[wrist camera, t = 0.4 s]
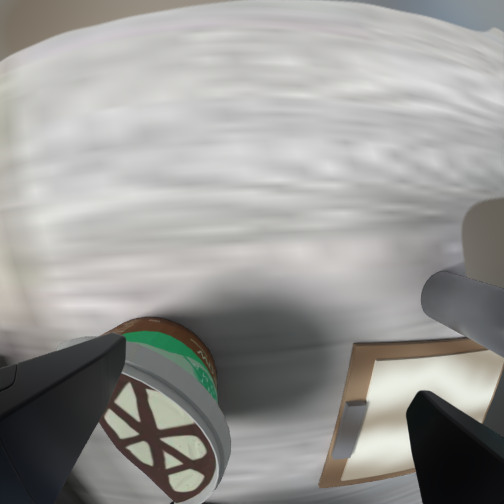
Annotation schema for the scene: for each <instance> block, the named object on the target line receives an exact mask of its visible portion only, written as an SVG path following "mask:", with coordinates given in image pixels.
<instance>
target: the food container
mask: <svg viewBox="0 0 504 504" xmlns="http://www.w3.org/2000/svg"><path fill="white" fill-rule="evenodd" d="M112 332H114V333H117V334H120V335H123V336H125V338H126V360H125V365H124V368H123V370H122V373H121V375H120V377H119V380H118V382H117V384H116V387H115V389H114V391H113V394H112V396H111V399H110V401H109V403H108V405H107V408H106V409H105V411H104V413H103V415H102V417H101V418H100V420H99V423H100V425H101V426H102V428H103V429H104V431H105V432H106V434H107V435H108V437H109V438H110V439H111V441H112V442H113V444H114V445H115V446H116V448H117V449H118V450H119V451H120V452H121V453H122V454H123V455H124V456H125V457H126V458H127V459H128V460H130V461H131V462H132V463H133V464H134V465H135V466H137V467H138V468H139V469H140V470H141V471H143V472H144V473H145V474H146V475H147V476H148V477H149V478H150V479H151V480H152V481H153V482H154V483H155V484H156V485H157V486H158V487H159V488H160V489H162V490H163V491H164V492H165V493H166V494H167V495H168V496H169V497H170V498H171V499H172V500H173V501H174V504H201V503H203V502H204V501H205V500H206V499H207V498H208V497H209V496H210V495H211V494H212V492H213V491H214V490H215V489H216V488H217V486H218V484H219V483H220V481H221V479H222V477H223V474H224V472H225V469H226V466H227V463H228V460H229V457H230V453H231V437H230V431H229V427H228V424H227V422H226V419H225V417H224V414H223V413H222V411H221V409H220V407H219V406H218V397H217V371H216V367H215V364H214V360H213V357H212V355H211V353H210V351H209V350H208V348H207V347H206V345H205V344H204V343H203V342H202V341H201V340H200V339H199V338H198V336H197V335H195V334H194V333H193V332H191V331H190V330H189V329H187V328H185V327H184V326H182V325H180V324H178V323H175V322H173V321H170V320H166V319H162V318H154V317H144V318H137V319H132V320H129V321H127V322H125V323H122V324H120V325H119V326H117V327H115V328H113V329H112V330H110V331H108V332H106V333H104V334H103V335H105V334H108V333H112ZM101 336H102V335H101ZM98 337H100V336H98ZM94 338H97V337H81V338H76V339H71V340H69V341H66V342H64V343H61V344H60V345H59V347H58V348H57V350H60V349H63V348H67V347H70V346H73V345H76V344H79V343H82V342H85V341H88V340H91V339H94ZM57 350H56V351H57Z"/></svg>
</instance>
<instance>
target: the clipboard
mask: <svg viewBox="0 0 504 504" xmlns="http://www.w3.org/2000/svg"><path fill="white" fill-rule="evenodd" d="M503 368H504V358H503V357H501V356H500V355H498V354H496V353H494V352H492V351H491V350H489V349H487V348H485V347H484V346H482V345H480V344H478V343H476V342H475V341H473V340H471V339H469V338H458V339H446V340H432V341H415V342H392V343H354V344H353V349H352V354H351V360H350V365H349V370H348V374H347V379H346V384H345V388H344V393H343V397H342V401H341V406H340V410H339V414H338V418H337V422H336V426H335V430H334V433H333V437H332V441H331V444H330V448H329V451H328V455H327V458H326V462H325V465H324V468H323V472H322V475H321V478H320V481H319V484H318V485H319V488H328V487H337V486H345V485H353V484H359V483H366V482H372V481H377V480H382V479H387V478H392V477H397V476H401V475H406V474H410V473H414V472H416V470H415V466H414V462H413V458H412V453H411V447H410V440H409V433H408V427H407V420H406V411H407V408H408V407H409V405H410V403H411V402H412V400H413V398H414V397H415V395H416V393H417V392H418V391H420V390H429V391H432V392H433V393H435V394H436V395H438V396H439V397H441V398H442V399H444V400H445V401H447V402H449V403H450V404H452V405H453V406H455V407H456V408H458V409H459V410H461V411H463V412H464V413H466V414H467V415H469V416H470V417H472V418H474V419H475V420H477V421H478V422H480V423H483V421H484V419H485V417H486V414H487V412H488V409H489V407H490V404H491V402H492V399H493V397H494V394H495V391H496V388H497V386H498V383H499V380H500V377H501V374H502V371H503Z"/></svg>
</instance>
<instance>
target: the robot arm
mask: <svg viewBox="0 0 504 504" xmlns="http://www.w3.org/2000/svg"><path fill="white" fill-rule="evenodd" d="M125 360H126V338H125V336H123V335H120V334H117V333H114V332H112V333H108V334H105V335H102V336H100V337H97V338H94V339H91V340H88V341H85V342H82V343H79V344H76V345H73V346H70V347H67V348H63V349H60V350H57V351H54V352H51V353H48V354H45V355H42V356H39V357H36V358H32V359H29V360H26V361H23V362H20V363H18V364H13V365H10V366H7V367H3V368H0V504H54V502H55V500H56V498H57V496H58V495H59V493H60V491H61V489H62V487H63V485H64V483H65V481H66V479H67V478H68V476H69V474H70V472H71V470H72V468H73V467H74V465H75V463H76V461H77V459H78V457H79V456H80V454H81V452H82V450H83V448H84V447H85V445H86V443H87V441H88V439H89V438H90V436H91V434H92V432H93V431H94V429H95V427H96V425H97V424H98V422H99V420H100V418H101V417H102V415H103V413H104V411H105V409H106V408H107V405H108V403H109V401H110V399H111V396H112V394H113V391H114V389H115V387H116V384H117V382H118V380H119V377H120V375H121V373H122V370H123V368H124V365H125ZM406 420H407V427H408V433H409V440H410V447H411V453H412V458H413V462H414V466H415V470H416V475H417V479H418V483H419V488H420V493H421V498H422V503H423V504H504V437H502V436H500V435H499V434H497V433H496V432H494V431H493V430H491V429H489V428H488V427H486V426H485V425H483V424H482V423H480V422H478V421H477V420H475V419H474V418H472V417H470V416H469V415H467V414H466V413H464V412H463V411H461V410H459V409H458V408H456V407H455V406H453V405H452V404H450V403H449V402H447V401H445V400H444V399H442V398H441V397H439V396H438V395H436V394H435V393H433V392H432V391H429V390H420V391H418V392H417V393H416V395H415V397H414V398H413V400H412V402H411V403H410V405H409V407H408V408H407V411H406ZM170 504H174V502H171V503H170Z"/></svg>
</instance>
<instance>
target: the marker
mask: <svg viewBox="0 0 504 504" xmlns="http://www.w3.org/2000/svg"><path fill="white" fill-rule="evenodd" d="M421 304H422V308H423V310H424V312H425V314H426V315H427V316H429V317H431V318H433V319H434V320H436V321H438V322H440V323H442V324H444V325H445V326H447V327H449V328H451V329H453V330H455V331H456V332H458V333H460V334H462V335H464V336H466V337H467V338H469V339H471V340H473V341H475V342H476V343H478V344H480V345H482V346H484V347H485V348H487V349H489V350H491V351H492V352H494V353H496V354H498V355H500V356H501V357H503V358H504V288H501V287H497V286H494V285H490V284H487V283H483V282H480V281H477V280H473V279H470V278H466V277H463V276H459V275H456V274H452V273H449V272H445V271H441V272H437V273H435V274H433V275H432V276H431V277H430V278H429V279H428V280H427V282H426V284H425V285H424V288H423V291H422V295H421Z"/></svg>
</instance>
